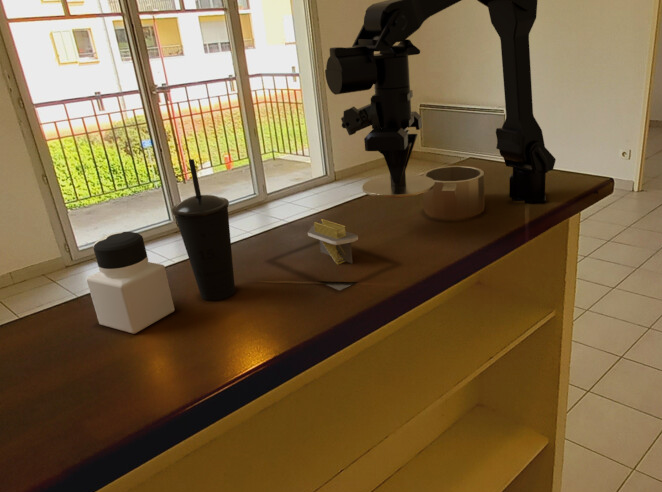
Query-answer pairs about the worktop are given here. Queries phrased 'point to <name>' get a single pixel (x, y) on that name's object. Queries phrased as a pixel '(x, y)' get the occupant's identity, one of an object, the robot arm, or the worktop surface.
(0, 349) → the worktop surface
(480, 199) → the pot
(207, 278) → the drinking cup
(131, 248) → the medicine bottle
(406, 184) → the lid
